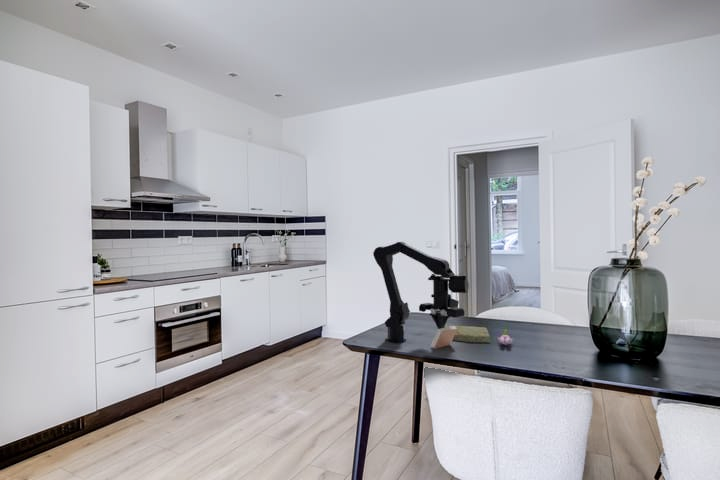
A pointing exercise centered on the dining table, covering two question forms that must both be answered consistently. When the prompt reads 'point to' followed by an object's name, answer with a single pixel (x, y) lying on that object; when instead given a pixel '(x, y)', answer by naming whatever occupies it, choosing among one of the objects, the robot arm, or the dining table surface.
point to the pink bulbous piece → (505, 338)
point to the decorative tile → (471, 334)
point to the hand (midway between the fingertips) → (441, 331)
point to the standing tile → (444, 337)
